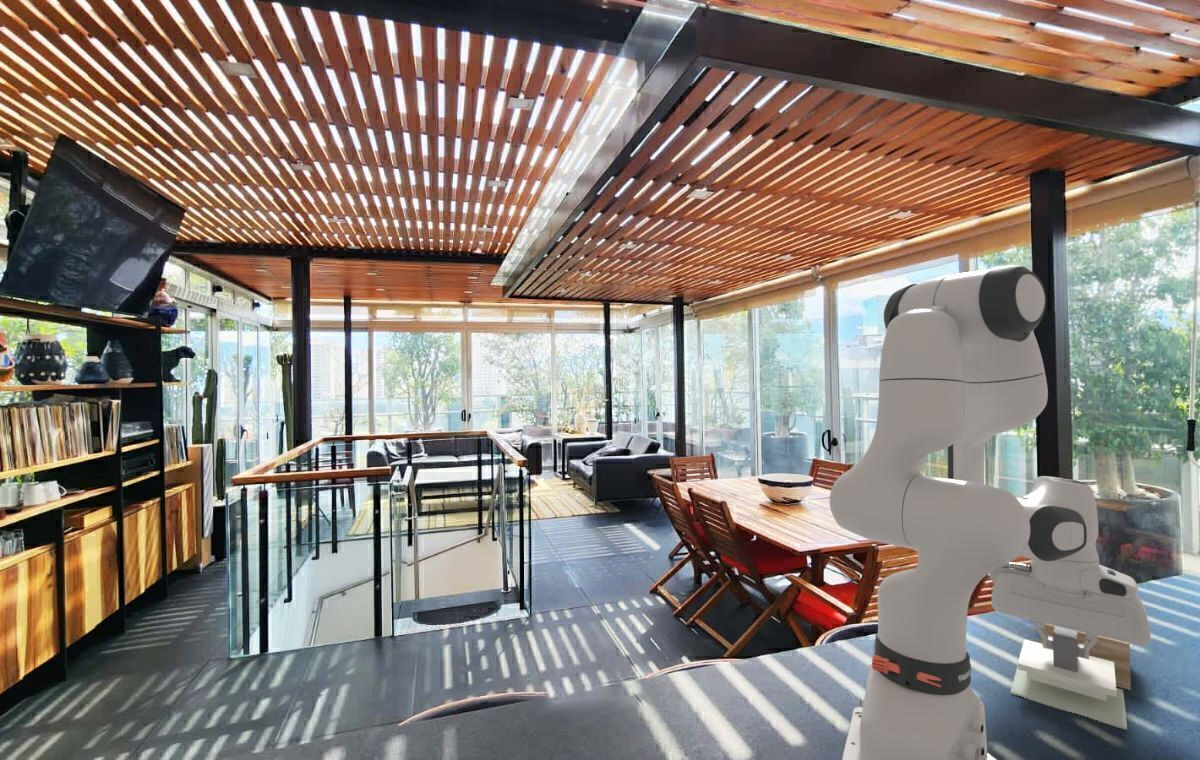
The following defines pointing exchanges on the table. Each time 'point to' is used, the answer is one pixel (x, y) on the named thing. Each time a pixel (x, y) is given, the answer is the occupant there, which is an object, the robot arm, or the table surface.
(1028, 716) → the table surface
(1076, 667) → the lid
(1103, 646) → the box
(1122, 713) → the mat
